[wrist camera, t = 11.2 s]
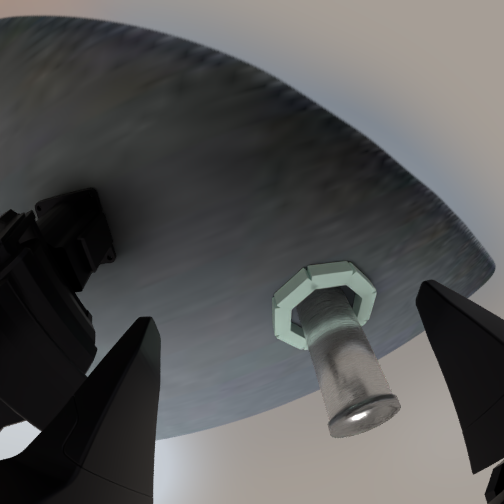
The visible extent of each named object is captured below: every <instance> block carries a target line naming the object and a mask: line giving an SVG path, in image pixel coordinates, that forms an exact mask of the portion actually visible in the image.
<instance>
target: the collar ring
mask: <svg viewBox="0 0 504 504" xmlns="http://www.w3.org/2000/svg"><path fill="white" fill-rule="evenodd" d="M342 285H347V286H348V287H350V288H351V289H352V290H353V291H354V292H356V294H355V299H354V303H353V307H352V309H353V311H354V313H355V315H356V317H357V319H358V321H359V323H360V325H361V326H363V325H364V324H365V323H366V320H369V317H370V314H371V311H372V308H373V304H374V301H375V297H376V294H377V292H376V289H375V287H374V286H373V284H372V283H371V281H370V280H369V279H368V278H367V277H366V276H365V275H364V274H363V273H362V272H361V271H360V270H358V269H357V268H356V267H355V266H354V265H353V264H352V263H351V262H349V263H348V262H347V261H341V262H333V263H325V264H316V265H308V266H307V270H306V269H304V268H302V269H301V270H300V271H299V272H298V273H297V274H296V275H295V276H293V277H292V278H291V279H290V280H289V281H288V282H287V283H286V284H285V285H283V286H282V287H281V288H280V289H279V290H278V291H277V292H276V293H275V294H274V297H272V316H273V329H274V333H275V336H276V338H278V339H280V340H282V341H284V342H286V343H288V344H290V345H292V346H294V347H296V348H298V349H300V350H301V349H303V348H304V350H307V349H308V346H307V342H306V339H305V336H304V332H303V329H302V328H301V327H299V326H297V325H296V324H294V323H292V322H291V310H292V309H293V308H294V307H295V306H296V305H298V304H299V303H300V302H301V301H302V300H304V299H305V298H306V297H307V296H308V295H309V294H311V293H312V292H313V291H314V290H315V289H321V288H328V287H335V286H342Z"/></svg>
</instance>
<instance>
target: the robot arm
mask: <svg viewBox="0 0 504 504" xmlns="http://www.w3.org/2000/svg"><path fill="white" fill-rule="evenodd" d="M89 193H92V195H93V197H91V196H90V195H89ZM39 206H40V207H41V208H40V207H39ZM35 210H36V213H37V216H38V220H37V221H35V218H36V217H35V215H34V213H33V210H31V211H29V212H27V213H22V214H17V213H16V212H14V211H13V210H11V209H10V210H9V211H7V212H5V213H4V214H3V215H2V216H1V217H0V431H1V430H2V429H3V427H6V426H10V425H13V424H17V423H20V422H23V421H28V422H29V423H30V424H32V425H33V426H35V427H36V428H37V429H39V430H40V431H42V432H41V433H40V434H39V435H38V436H37V437H36V438H35V439H34V440H33V441H32V442H31V443H30V444H29V445H28V447H27V448H26V449H25V450H23V451H22V452H21V453H20V454H18V455H16V456H14V457H11V458H8V459H3V460H0V504H153V476H154V475H153V474H154V453H155V437H156V423H157V412H158V401H159V392H160V351H161V338H160V334H159V332H158V329H157V327H156V324H155V322H154V320H153V318H152V317H139V318H138V319H137V320H136V321H135V322H134V323H133V324H132V326H131V327H130V328H129V329H128V330H127V331H126V332H125V334H124V335H123V336H122V337H121V338H120V339H119V341H118V342H117V343H116V344H115V345H114V346H113V348H112V349H111V350H110V351H109V352H108V353H107V355H106V356H105V357H104V358H103V359H102V361H101V362H100V363H99V364H98V365H97V367H96V368H95V369H94V370H93V371H92V373H91V374H90V375H89V376H88V377H87V376H86V375H85V374H86V373H87V371H88V369H89V368H90V366H91V364H92V363H93V361H94V358H95V355H96V353H97V347H96V346H95V330H94V327H93V325H92V315H91V314H90V312H89V311H88V310H86V309H85V307H84V306H83V304H82V303H81V301H80V300H79V298H78V297H77V295H76V294H75V292H81V291H82V290H83V288H84V286H85V285H86V283H87V281H88V279H89V277H90V275H91V274H92V273H95V272H96V270H97V268H98V267H99V265H100V264H105V263H112V262H114V261H115V259H116V253H115V250H114V247H113V244H112V243H113V239H112V236H111V233H110V230H109V226H108V223H107V220H106V216H105V214H104V213H103V212H102V208H101V205H100V201H99V198H98V194H97V191H96V190H95V189H94V188H87V189H83V190H79V191H75V192H71V193H67V194H63V195H59V196H56V197H52V198H48V199H45V200H41V201H39V202H38V203H36V205H35ZM108 255H110V256H112V258H111V257H109V256H108ZM416 306H417V309H418V311H419V314H420V317H421V320H422V322H423V325H424V328H425V331H426V334H427V337H428V339H429V342H430V344H431V347H432V349H433V351H434V353H435V356H436V358H437V361H438V363H439V366H440V368H441V371H442V373H443V376H444V378H445V381H446V383H447V386H448V389H449V392H450V394H451V397H452V400H453V403H454V406H455V409H456V412H457V415H458V419H459V421H460V425H461V428H462V433H463V436H464V440H465V444H466V447H467V452H468V456H469V460H470V464H471V469H472V473H473V474H476V473H477V472H479V471H481V470H483V469H485V468H487V467H489V466H491V465H492V464H494V463H496V462H498V461H499V460H501V459H503V458H504V320H503V319H501V318H500V317H498V316H496V315H494V314H493V313H491V312H490V311H488V310H486V309H484V308H483V307H481V306H479V305H478V304H476V303H474V302H473V301H471V300H469V299H467V298H465V297H464V296H462V295H460V294H458V293H457V292H455V291H453V290H451V289H449V288H447V287H446V286H444V285H442V284H440V283H438V282H436V281H434V280H427V281H424V282H422V284H421V286H420V289H419V292H418V294H417V297H416ZM485 497H486V500H487V504H504V460H503V461H502V462H501V463H500V464H498V465H497V466H496V467H495V468H494V469H493V471H492V474H491V477H490V481H489V483H488V486H487V489H486V492H485Z"/></svg>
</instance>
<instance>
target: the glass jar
mask: <svg viewBox="0 0 504 504" xmlns="http://www.w3.org/2000/svg"><path fill="white" fill-rule="evenodd" d="M297 313H298V316H299V320H300V323H301V326H302V329H303V332H304V336H305V339H306V342H307V346H308V349H309V352H310V355H311V359H312V362H313V365H314V369H315V372H316V376H317V379H318V382H319V386H320V389H321V393H322V396H323V400H324V403H325V406H326V410H327V413H328V417H329V423H328V428H329V431H330V435H331V436H332V437H335V438H343V437H349V436H354V435H357V434H360V433H363V432H366V431H368V430H371V429H373V428H375V427H377V426H379V425H381V424H383V423H384V422H386V421H388V420H389V419H390V418H392V417H393V416H394V415H395V414H397V412H398V411H399V410H400V408H401V405H400V403H399V400H398V398H397V396H395V395H393V394H392V391H391V389H390V387H389V385H388V382H387V380H386V378H385V376H384V374H383V371H382V369H381V367H380V365H379V363H378V360H377V358H376V356H375V354H374V352H373V350H372V348H371V346H370V344H369V341H368V339H367V337H366V335H365V333H364V331H363V329H362V327H361V325H360V323H359V321H358V319H357V317H356V315H355V313H354V311H353V309H352V307H351V306H350V304H349V302H348V300H347V298H346V296H345V294H344V292H343V291H342V289H341V288H339V287H338V286H335V287H328V288H321V289H315V290H314V291H313V292H312V293H311V294H309V295H308V296H307V297H306V298H305V299H304V300H302V301H301V302H300V303H299V304H298V305H297Z"/></svg>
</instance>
